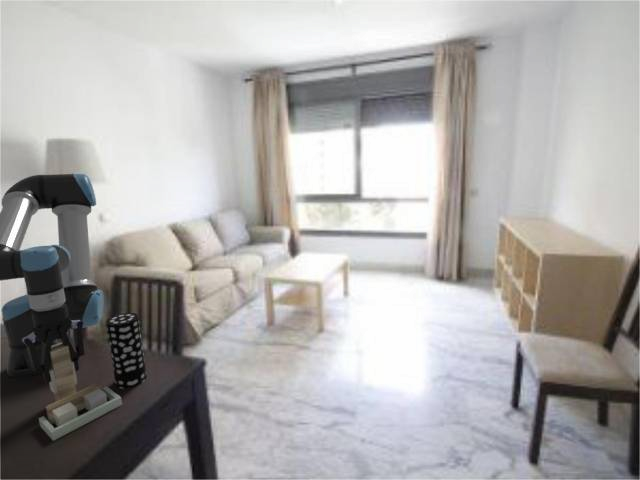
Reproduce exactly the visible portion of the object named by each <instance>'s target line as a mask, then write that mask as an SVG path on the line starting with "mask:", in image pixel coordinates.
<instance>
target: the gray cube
mask: <svg viewBox="0 0 640 480" xmlns="http://www.w3.org/2000/svg"><path fill="white" fill-rule="evenodd" d="M83 398H84V404H85V408H84V409H86V410H87V412H88V411H90V410H92V409H94V408H96V407H98V406H100V405H102V404H104V403H106V402H108V398H107V396H106V393H105V392H103V389H102V388H101V389H97V390H95V391H93V392H90V393H88V394H86V395H84V396H83Z"/></svg>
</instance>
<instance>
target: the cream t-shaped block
mask: <svg viewBox="0 0 640 480" xmlns="http://www.w3.org/2000/svg"><path fill="white" fill-rule="evenodd" d="M58 343H59V344H56V345H53V346H51V351H50V368H52V369H53V370H54V375H55V380H56V385H57V390H58V392H57V393H54V392H53V395H54V399H55V401H54V402H52V403H51V404H48V405H46V406H45V410H46V414H47V421H48V422H49V423H50V424H51V425H55V423H54V419H53V414H52V410H54V409H56V408H58V407H61V406H63V405H65V404H67V403H69V402H70V403H72V404H73V405H74V406H75V407H76V408H77V413H78V412H81V411H82V410H84V409H86V408H85V404H84V398H83V396H84V395H86V394H88V393H90V392H93V391H95V390H97V389H101V390H102V386H101V385H100V384H99V383H94V384H92V385H90V386H88V387H85V388H83V389H81V390H79V391H77V386H76V385H77V384H75V380H74V374H73V369H72V364H71V358H70V353H69V347H68V346H66V345H64V344H63V343H62V342H58Z"/></svg>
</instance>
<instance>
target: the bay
mask: <svg viewBox="0 0 640 480" xmlns="http://www.w3.org/2000/svg"><path fill="white" fill-rule="evenodd" d="M102 391H103V392H105V393H106V396H107V402H106V403H104V404H102V405H100V406H98V407H96V408H94V409H92V410H90V411H88V410H87V412H84V413H83V414H80V415H78V417H76V418H74V419H72V420H70V421H68V422H66V423H65V424H63V425H61V426H59V427H57V426H56V427H54V426H53V424H51V422H50V421H49V420H48V418H46V417H45V416H44V415H43V416H41V417H38V422H39V427H40V428H41V429H42V430H43V431H44V432H45V433H46V435H47V436H48V437H49V438H50V439H51V440H52V442H54V441H56V440H57V439H60V438H62V437H63V436H66V435H68V434H69V433H71V432H73V431H75V430H77V429H78V428H80V427H82V426H84V425H86V424H88V423H90V422H92V421H94V420H96V419H97V418H99V417H101V416H103V415H105V414H107V413H109V412H111V411H113V410H114V409H116V408H119V407H121V406H122V405H123V401H122V397H121V396H120V395H119V394H117V393H116V392H115V391H113V390H112V389H111V388H109V387H108V386H107V385H106V386H104V387H102ZM108 400H109V401H108Z"/></svg>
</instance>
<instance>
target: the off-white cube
mask: <svg viewBox="0 0 640 480" xmlns="http://www.w3.org/2000/svg"><path fill="white" fill-rule="evenodd" d="M52 414H53V419H54V425H56V428H57V427H59V426H61V425H63V424H65V423H66V422H68V421H70V420H72V419H74V418H76V417H78V416H79V415H78V412H77V408H76V407H75V406H74V405H73V404H72V403H70V402H69V403H67V404H65V405H63V406H61V407H58V408H56V409H54V410H52Z"/></svg>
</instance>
